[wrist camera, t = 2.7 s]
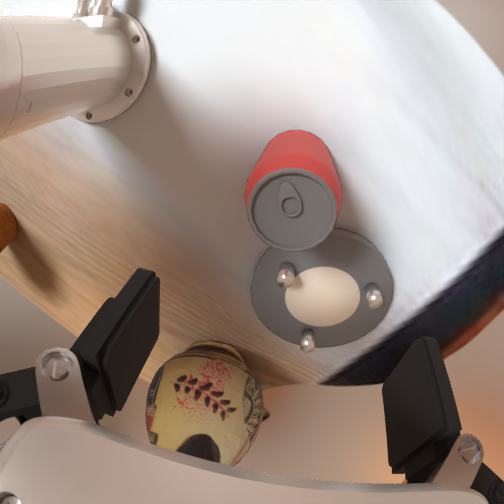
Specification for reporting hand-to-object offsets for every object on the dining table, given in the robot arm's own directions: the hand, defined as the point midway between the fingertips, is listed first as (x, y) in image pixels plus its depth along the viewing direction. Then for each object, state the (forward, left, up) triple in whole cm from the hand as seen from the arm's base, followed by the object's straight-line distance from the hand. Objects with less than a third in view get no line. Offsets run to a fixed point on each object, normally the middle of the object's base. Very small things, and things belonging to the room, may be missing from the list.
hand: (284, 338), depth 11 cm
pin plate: (+13, +6, -22) cm, 27 cm away
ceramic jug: (+30, -4, -22) cm, 38 cm away
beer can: (0, 0, -22) cm, 22 cm away
